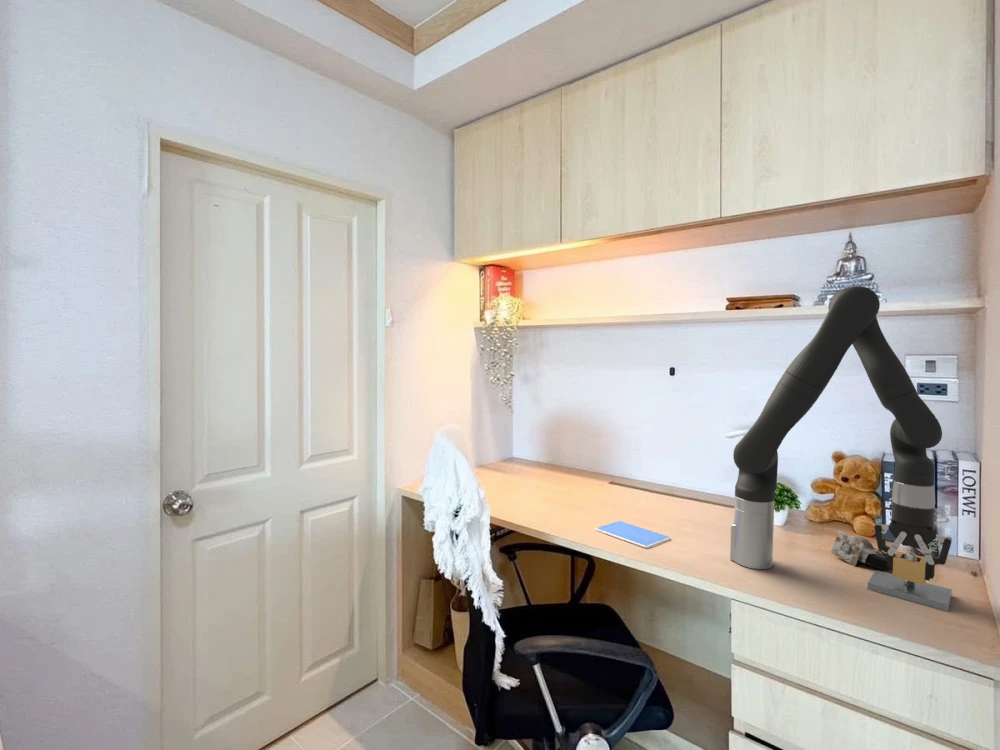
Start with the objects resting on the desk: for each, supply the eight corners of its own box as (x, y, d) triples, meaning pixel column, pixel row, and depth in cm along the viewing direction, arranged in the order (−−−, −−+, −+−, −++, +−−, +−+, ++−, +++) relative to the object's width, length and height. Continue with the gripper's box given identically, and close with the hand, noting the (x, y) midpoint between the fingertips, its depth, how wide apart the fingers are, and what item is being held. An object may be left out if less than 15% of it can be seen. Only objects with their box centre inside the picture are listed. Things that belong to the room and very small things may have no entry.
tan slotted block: (892, 576, 114) (893, 557, 114) (896, 569, 118) (897, 551, 118) (924, 585, 110) (925, 565, 110) (927, 577, 114) (928, 558, 114)
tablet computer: (593, 531, 154) (593, 527, 154) (619, 523, 162) (619, 519, 162) (646, 551, 139) (646, 546, 139) (672, 541, 146) (672, 536, 146)
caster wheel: (895, 577, 128) (871, 578, 124) (852, 552, 138) (829, 552, 134) (905, 554, 127) (881, 554, 123) (860, 531, 137) (837, 530, 133)
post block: (867, 588, 116) (869, 548, 116) (875, 576, 123) (876, 538, 123) (947, 611, 106) (949, 567, 106) (951, 595, 113) (953, 554, 113)
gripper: (871, 498, 116) (868, 570, 117) (954, 513, 106) (951, 591, 106) (877, 493, 121) (874, 561, 122) (956, 506, 111) (953, 580, 112)
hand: (910, 574), depth 114 cm, fingers closed on tan slotted block, 5 cm apart
